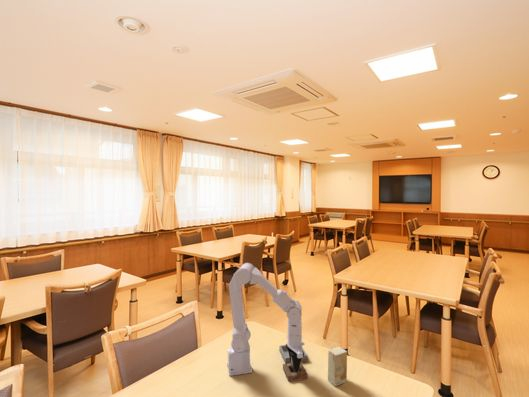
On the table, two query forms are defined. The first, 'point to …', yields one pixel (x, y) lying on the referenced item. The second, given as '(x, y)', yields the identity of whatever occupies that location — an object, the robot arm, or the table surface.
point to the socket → (296, 375)
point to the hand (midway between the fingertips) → (294, 365)
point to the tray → (285, 354)
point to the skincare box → (337, 366)
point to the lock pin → (292, 367)
